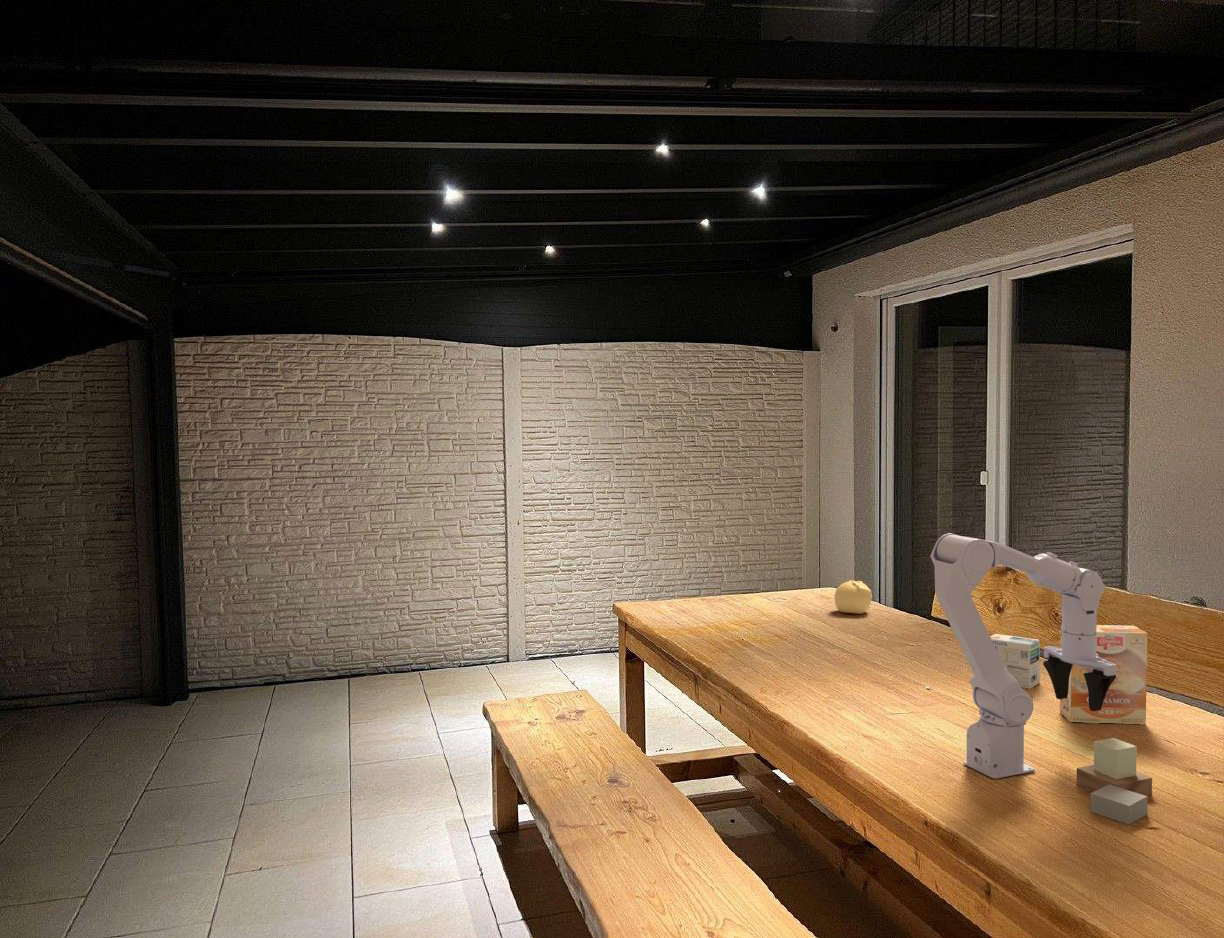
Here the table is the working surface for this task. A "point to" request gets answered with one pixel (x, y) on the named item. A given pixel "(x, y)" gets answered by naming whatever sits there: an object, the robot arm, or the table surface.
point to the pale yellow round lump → (853, 597)
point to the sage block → (1115, 758)
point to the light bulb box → (1019, 658)
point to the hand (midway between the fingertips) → (1078, 704)
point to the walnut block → (1113, 781)
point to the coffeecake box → (1127, 688)
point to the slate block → (1118, 804)
